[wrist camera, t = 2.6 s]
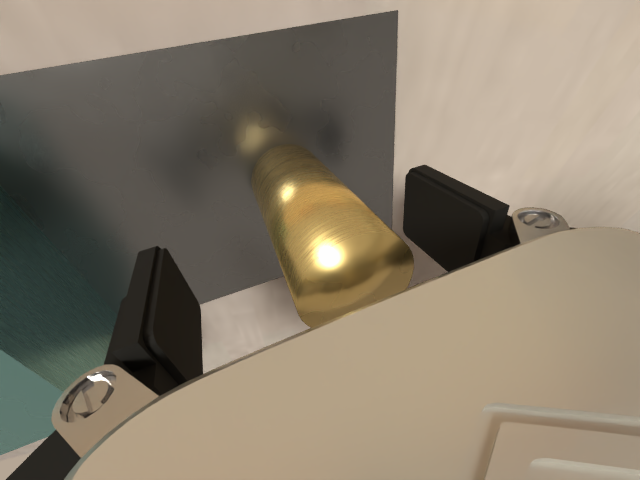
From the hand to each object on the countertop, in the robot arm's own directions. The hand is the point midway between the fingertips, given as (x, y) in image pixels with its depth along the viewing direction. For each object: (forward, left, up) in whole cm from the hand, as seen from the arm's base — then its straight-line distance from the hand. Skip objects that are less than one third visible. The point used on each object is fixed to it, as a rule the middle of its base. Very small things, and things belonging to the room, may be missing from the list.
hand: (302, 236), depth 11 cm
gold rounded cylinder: (-1, 0, -4) cm, 4 cm away
